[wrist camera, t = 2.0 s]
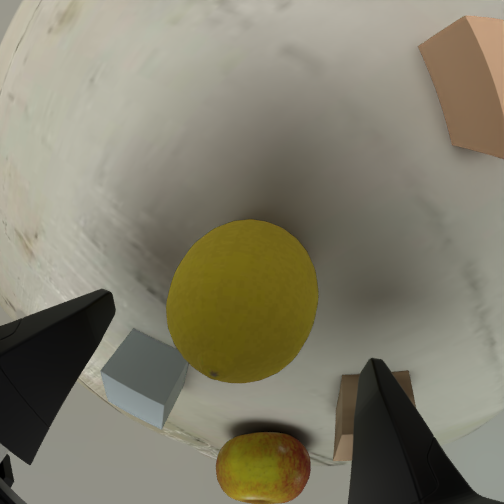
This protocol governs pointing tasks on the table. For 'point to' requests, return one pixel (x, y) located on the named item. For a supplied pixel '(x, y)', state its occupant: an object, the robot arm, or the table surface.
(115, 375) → the slate block
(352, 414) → the walnut block
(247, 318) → the lemon
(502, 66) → the terracotta block
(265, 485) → the fruit
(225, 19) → the table surface
